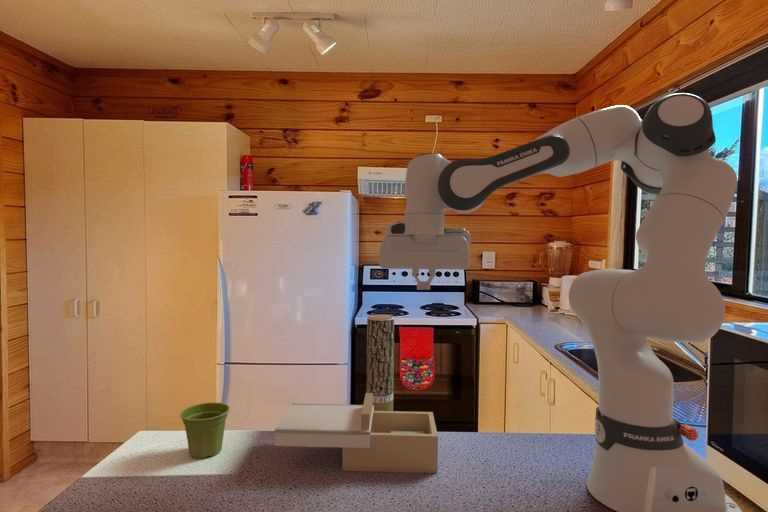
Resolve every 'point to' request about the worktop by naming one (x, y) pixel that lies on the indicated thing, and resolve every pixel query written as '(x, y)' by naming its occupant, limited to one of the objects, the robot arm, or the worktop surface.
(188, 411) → the plant pot
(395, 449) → the tan open box
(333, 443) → the lid
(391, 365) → the bark textured cylinder
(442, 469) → the worktop surface
